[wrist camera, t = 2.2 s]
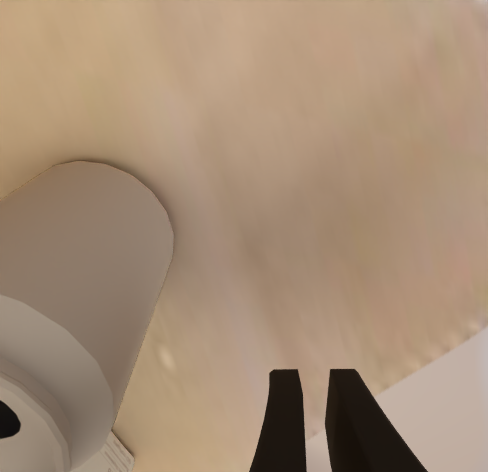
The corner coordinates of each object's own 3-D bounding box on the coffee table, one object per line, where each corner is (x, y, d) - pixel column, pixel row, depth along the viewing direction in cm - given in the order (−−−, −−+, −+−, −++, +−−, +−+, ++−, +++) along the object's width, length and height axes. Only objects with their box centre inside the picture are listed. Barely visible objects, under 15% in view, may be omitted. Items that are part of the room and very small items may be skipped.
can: (205, 210, 19) (148, 429, 9) (136, 312, 22) (28, 571, 11) (60, 122, 18) (-239, 261, 7) (5, 246, 20) (-267, 480, 10)
